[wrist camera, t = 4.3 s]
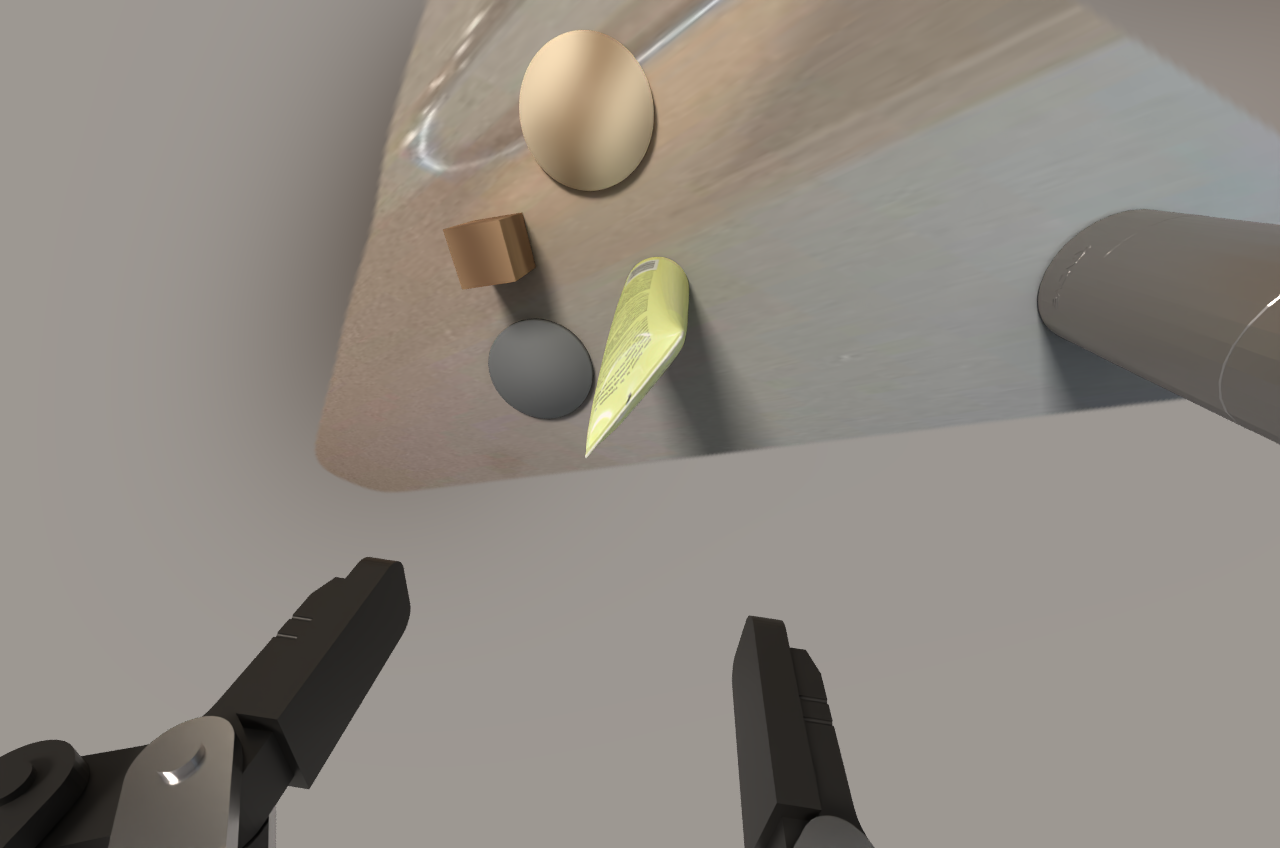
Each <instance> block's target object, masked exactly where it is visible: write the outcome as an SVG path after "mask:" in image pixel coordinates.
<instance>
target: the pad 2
mask: <svg viewBox="0 0 1280 848" xmlns="http://www.w3.org/2000/svg"><path fill="white" fill-rule="evenodd" d="M488 366H489V373H490V377H491V380H492V382H493V384H494V386H495V388H496V390H497V391H498V393H499V394H500V396H501V397H502V398H503V399H504V400H505V401H506V402H507V403H508V404H509V405H511V406H512V407H513V408H515V409H516V410H518V411H520V412H522V413H524V414H526V415H529V416H533V417H537V418H557V417H561V416H565V415H567V414H569V413H571V412H572V411H574V410H576V409H577V408H578V407H579V406H580V405H581V404H582V403H583V402H584V400H585V399H586V397H587V395H588V393H589V391H590V388H591V385H592V380H593V368H592V362H591V359H590V356H589V354H588V351H587V350H586V348H585V346H584V345H583V343H582V342H581V341H580V340H579V339H578V337H577V336H576V335H575V334H573V333H572V332H571V331H570V330H568V329H567V328H565V327H563V326H562V325H559V324H557V323H555V322H552V321H549V320H543V319H527V320H522V321H519V322H516V323H514V324H512V325H510V326H509V327H507V328H506V329H505V330H504V331H503V332H502V333H501V334H500V335H499V336H498V337H497V338H496V340H495V341H494V343H493V345H492V347H491V350H490V353H489V362H488Z"/></svg>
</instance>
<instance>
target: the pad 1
mask: <svg viewBox="0 0 1280 848" xmlns="http://www.w3.org/2000/svg"><path fill="white" fill-rule="evenodd" d="M519 112H520V121H521V127H522V131H523V135H524V138H525V141H526V143H527V145H528V148H529V150H530V151H531V153H532V155H533V157H534V158H535V160H536V161H537V163H538V164H539V165H540V166H541V167H542V169H543V170H544V171H545V172H546V173H547V174H549V175H550V176H551V177H552V178H554V179H555V180H556V181H558V182H560V183H561V184H563V185H565V186H568V187H571V188H573V189H578V190H584V191H595V190H601V189H605V188H608V187H611V186H613V185H616V184H617V183H619V182H621V181H623V180H624V179H625V178H626V177H628V176H629V175H630V174H631V173H632V172H633V171H634V170H635V169H636V167H637V166H638V165H639V163H640V162H641V160H642V159H643V157H644V155H645V153H646V151H647V148H648V146H649V143H650V140H651V136H652V131H653V125H654V106H653V99H652V93H651V90H650V86H649V83H648V81H647V78H646V76H645V74H644V72H643V70H642V68H641V67H640V65H639V63H638V62H637V60H636V59H635V58H634V56H633V55H632V54H631V53H630V52H629V51H628V50H627V49H626V48H625V47H624V46H623V45H622V44H620V43H619V42H618V41H617V40H615V39H613V38H611V37H610V36H608V35H605V34H602V33H600V32H595V31H590V30H577V31H570V32H567V33H564V34H561V35H559V36H557V37H555V38H553V39H552V40H551V41H549V42H548V43H547V44H545V45H544V46H543V47H542V48H541V49H540V50H539V51H538V53H537V54H536V55H535V57H534V58H533V59H532V61H531V63H530V65H529V67H528V69H527V71H526V73H525V76H524V79H523V83H522V86H521V92H520V102H519Z"/></svg>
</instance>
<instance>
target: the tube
mask: <svg viewBox="0 0 1280 848" xmlns="http://www.w3.org/2000/svg"><path fill="white" fill-rule="evenodd" d="M688 306H689V284H688V279H687V277H686V274H685V273H684V271H683V270H682V268H681V267H680V266H679V265H678V264H677V263H675V262H674V261H672V260H670V259H667V258H664V257H652V258H648V259H645V260H643V261H641V262H640V263H638V264H637V265H636V266H635V267H634V268H633V269H632V271H631V272H630V274H629V276H628V278H627V280H626V283H625V286H624V288H623V291H622V294H621V297H620V300H619V303H618V306H617V309H616V312H615V315H614V319H613V322H612V326H611V329H610V333H609V337H608V341H607V344H606V348H605V352H604V357H603V361H602V365H601V369H600V374H599V378H598V382H597V387H596V391H595V396H594V400H593V406H592V411H591V417H590V422H589V428H588V435H587V444H586V454H585V458H587V457H588V456H589V455H590V454H591V452H592V451H593V450H594V449H595V447H596V446H597V445H598V444H600V443H601V442H602V441H603V440H604V439H606V438H607V437H608V436H609V435H610V434H611V433H612V432H613V431H614V430H615V429H616V428H617V427H618V426H619V425H620V424H621V423H622V422H623V421H624V420H625V419H626V418H627V417H628V415H629V414H630V413H631V412H632V411H633V410H634V409H635V407H636V406H637V405H638V404H639V403H640V401H641V400H642V399H643V398H644V396H645V395H646V394H647V393H648V392H649V390H650V389H651V388H652V387H653V386H654V384H655V383H656V382H657V381H658V380H659V378H660V377H661V376H662V375H663V373H664V372H665V371H666V370H667V368H668V367H669V366H670V365H671V363H672V362H673V361H674V359H675V358H676V357H677V355H678V354H679V352H680V350H681V349H682V347H683V345H684V341H685V337H686V331H687V322H688Z"/></svg>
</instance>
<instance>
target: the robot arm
mask: <svg viewBox="0 0 1280 848" xmlns="http://www.w3.org/2000/svg"><path fill="white" fill-rule="evenodd" d="M1038 306H1039V312H1040V315H1041V317H1042V320H1043V322H1044V323H1045V324H1046V326H1047V327H1048V328H1049V330H1051V331H1052V332H1054V333H1055V334H1056V335H1058V336H1059V337H1061V338H1063V339H1066V340H1068V341H1070V342H1072V343H1074V344H1076V345H1078V346H1080V347H1082V348H1084V349H1086V350H1088V351H1090V352H1092V353H1094V354H1095V355H1097V356H1099V357H1102V358H1104V359H1106V360H1108V361H1110V362H1112V363H1114V364H1116V365H1118V366H1120V367H1122V368H1124V369H1126V370H1128V371H1130V372H1132V373H1134V374H1136V375H1138V376H1140V377H1142V378H1144V379H1146V380H1148V381H1151V382H1153V383H1155V384H1157V385H1159V386H1161V387H1163V388H1165V389H1167V390H1169V391H1171V392H1173V393H1175V394H1177V395H1179V396H1181V397H1183V398H1185V399H1187V400H1189V401H1191V402H1193V403H1195V404H1198V405H1200V406H1202V407H1204V408H1206V409H1208V410H1210V411H1212V412H1214V413H1216V414H1218V415H1220V416H1222V417H1224V418H1226V419H1228V420H1230V421H1232V422H1234V423H1236V424H1238V425H1241V426H1243V427H1244V428H1246V429H1249V430H1251V431H1254V432H1255V433H1257V434H1260V435H1261V436H1264V437H1266V438H1268V439H1270V440H1272V441H1274V442H1276V443H1278V444H1280V225H1276V224H1268V223H1259V222H1251V221H1242V220H1234V219H1225V218H1217V217H1209V216H1202V215H1193V214H1184V213H1175V212H1166V211H1157V210H1148V209H1141V210H1129V211H1125V212H1121V213H1117V214H1114V215H1111V216H1108V217H1106V218H1104V219H1102V220H1100V221H1097V222H1095V223H1094V224H1092V225H1090V226H1089V227H1087V228H1086V229H1084V230H1083V231H1081V232H1079V233H1078V234H1077V235H1076V236H1075V237H1074V238H1072V239H1071V240H1070V241H1069V242H1068V243H1067V244H1066V245H1065V246H1064V247H1063V248H1062V249H1061V250H1060V251H1059V253H1058V254H1057V255H1056V256H1055V257H1054V259H1053V260H1052V262H1051V264H1050V265H1049V267H1048V268H1047V270H1046V272H1045V274H1044V277H1043V279H1042V282H1041V284H1040V289H1039V295H1038ZM409 616H410V601H409V595H408V590H407V584H406V579H405V574H404V568H403V565H402V563H401V562H399V561H392V560H385V559H379V558H372V557H366V558H364V559H362V560H361V561H360V562H359V563H358V564H357V565H356V566H355V568H354V569H353V570H352V571H351V572H350V574H349V575H348V576H347V577H346V579H344V578H338V577H335V578H334V579H333V580H331V581H329V582H328V583H326V584H325V585H323V586H322V587H320V588H319V589H318V590H316V591H315V592H313V593H312V594H311V595H310V596H309V597H308V598H307V599H306V600H305V601H304V603H303V604H302V605H301V606H300V607H299V608H298V609H297V611H296V612H295V613H294V614H293V617H292V619H289V620H288V621H287V622H286V623H285V624H284V626H283V627H282V628H281V629H280V630H279V631H278V634H277V636H276V637H273V638H272V639H271V641H270V642H269V643H268V644H267V645H266V646H265V648H264V649H263V650H262V651H261V652H260V653H259V654H258V655H257V657H256V658H255V659H254V660H253V661H252V662H251V664H250V665H249V666H248V667H247V668H246V669H245V670H244V672H243V673H242V674H241V675H240V676H239V677H238V678H237V680H236V681H235V682H234V683H233V684H232V685H231V687H230V688H229V689H228V690H227V691H226V692H225V693H224V695H223V696H222V697H221V698H220V699H219V700H218V702H217V703H216V704H215V705H214V706H213V707H212V708H211V709H210V710H209V711H208V712H207V713H206V714H205V715H204V716H202V717H199V718H195V719H191V720H189V721H185V722H184V723H181V724H178V725H176V726H175V727H173V728H171V729H169V730H168V731H166V732H165V733H163V734H161V735H160V736H159V737H158V738H156V739H155V740H154V741H152V742H151V743H150V744H148V745H144V746H138V747H133V748H127V749H121V750H115V751H109V752H104V753H98V754H93V755H86V756H80V755H79V754H78V753H77V752H76V750H75V749H74V748H73V747H72V746H71V745H70V744H69V743H67V742H65V741H61V740H46V741H40V742H36V743H32V744H29V745H26V746H23V747H21V748H18V749H16V750H13V751H11V752H9V753H7V754H5V755H3V756H1V757H0V848H276V807H275V805H276V803H277V802H278V800H279V799H280V797H281V796H282V794H283V793H284V791H285V789H286V788H287V786H293V787H299V788H305V789H309V788H310V787H311V785H312V784H313V782H314V780H315V779H316V777H317V775H318V774H319V772H320V770H321V769H322V767H323V765H324V764H325V762H326V760H327V759H328V757H329V756H330V754H331V752H332V751H333V749H334V747H335V746H336V744H337V742H338V741H339V739H340V737H341V736H342V734H343V732H344V731H345V729H346V727H347V726H348V724H349V722H350V721H351V719H352V717H353V716H354V714H355V712H356V711H357V709H358V708H359V706H360V704H361V703H362V701H363V699H364V698H365V696H366V694H367V693H368V691H369V689H370V688H371V686H372V684H373V683H374V681H375V679H376V678H377V676H378V674H379V673H380V671H381V670H382V668H383V666H384V665H385V663H386V661H387V659H388V658H389V656H390V654H391V653H392V651H393V650H394V648H395V646H396V645H397V643H398V641H399V640H400V638H401V636H402V635H403V633H404V631H405V629H406V626H407V623H408V620H409ZM732 688H733V700H734V714H735V727H736V739H737V753H738V766H739V779H740V792H741V806H742V819H743V832H744V845H745V848H874V846H873V845H872V843H871V842H870V841H869V840H868V838H867V836H866V835H865V833H864V831H863V829H862V827H861V825H860V823H859V821H858V818H857V816H856V812H855V809H854V805H853V801H852V798H851V793H850V789H849V785H848V781H847V777H846V773H845V769H844V765H843V761H842V758H841V753H840V749H839V745H838V741H837V737H836V733H835V729H834V726H832V717H831V713H830V709H829V705H828V704H827V697H826V693H825V689H824V685H823V681H822V677H821V673H820V672H819V670H818V668H817V667H816V665H815V664H814V662H813V661H812V659H811V657H810V656H809V654H808V653H807V651H806V650H803V649H796V648H790V647H789V642H788V637H787V632H786V628H785V625H784V623H783V621H781V620H776V619H769V618H763V617H756V616H748V618H747V620H746V623H745V626H744V629H743V632H742V635H741V638H740V642H739V645H738V648H737V651H736V654H735V658H734V663H733V673H732Z"/></svg>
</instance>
